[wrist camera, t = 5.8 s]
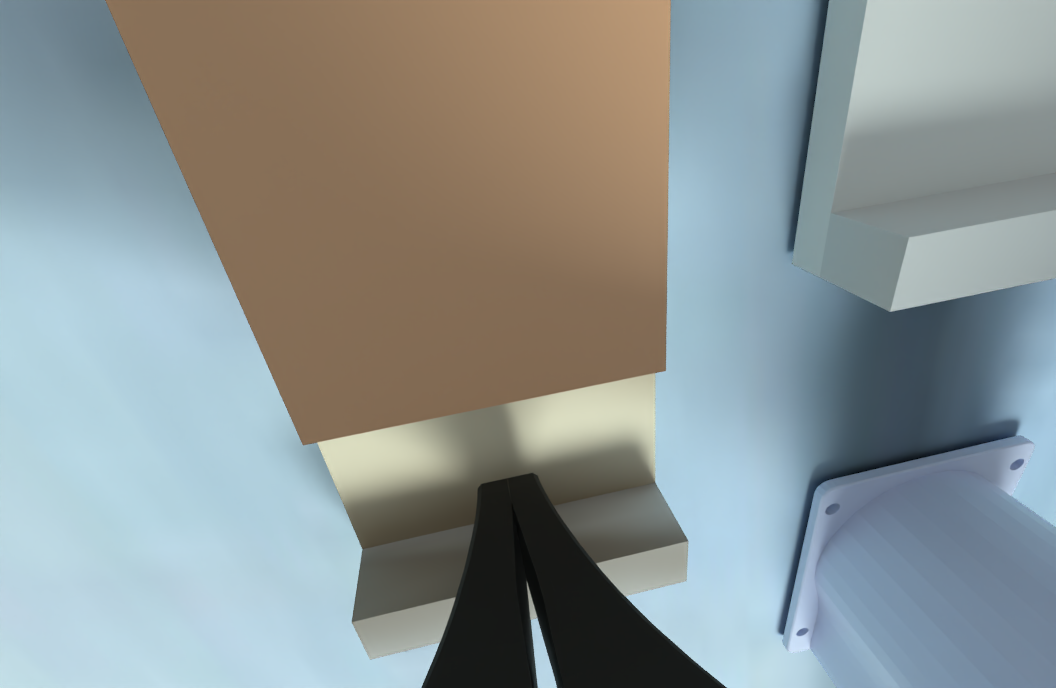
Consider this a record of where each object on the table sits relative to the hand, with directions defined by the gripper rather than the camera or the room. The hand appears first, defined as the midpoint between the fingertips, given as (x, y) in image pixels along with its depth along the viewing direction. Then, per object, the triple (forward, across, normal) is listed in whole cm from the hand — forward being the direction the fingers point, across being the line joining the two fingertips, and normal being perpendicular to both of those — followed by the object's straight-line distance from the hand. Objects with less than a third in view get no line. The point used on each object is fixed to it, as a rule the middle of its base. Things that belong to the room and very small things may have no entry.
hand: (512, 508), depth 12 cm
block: (+1, 0, -8) cm, 8 cm away
